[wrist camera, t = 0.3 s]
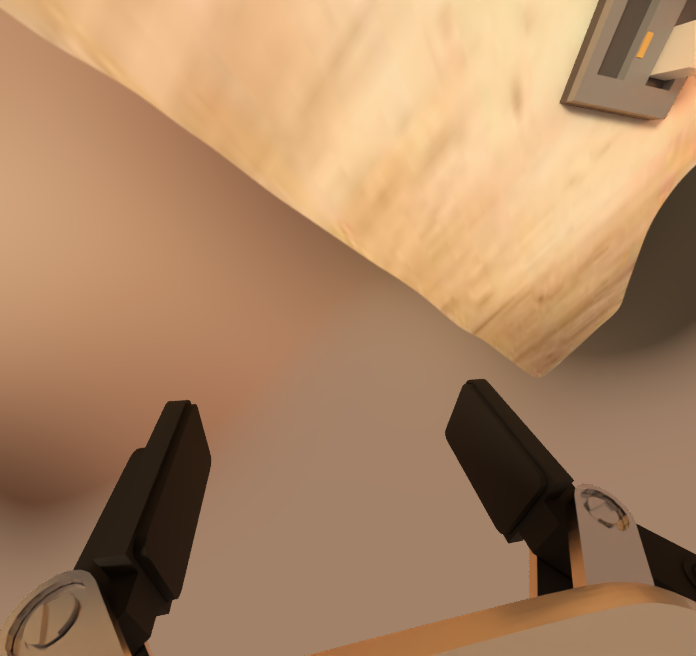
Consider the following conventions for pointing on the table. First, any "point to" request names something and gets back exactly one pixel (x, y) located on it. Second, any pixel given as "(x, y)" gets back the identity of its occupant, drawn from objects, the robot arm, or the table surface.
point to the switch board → (627, 58)
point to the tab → (677, 54)
